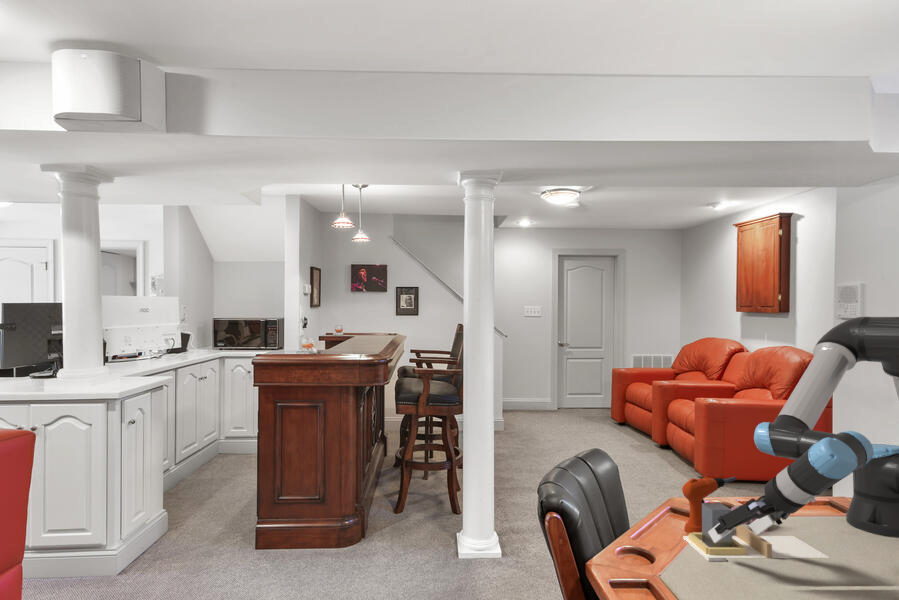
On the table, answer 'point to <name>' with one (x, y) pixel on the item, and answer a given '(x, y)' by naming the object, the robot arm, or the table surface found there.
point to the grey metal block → (714, 524)
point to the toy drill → (700, 498)
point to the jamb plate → (754, 547)
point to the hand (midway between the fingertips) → (733, 533)
